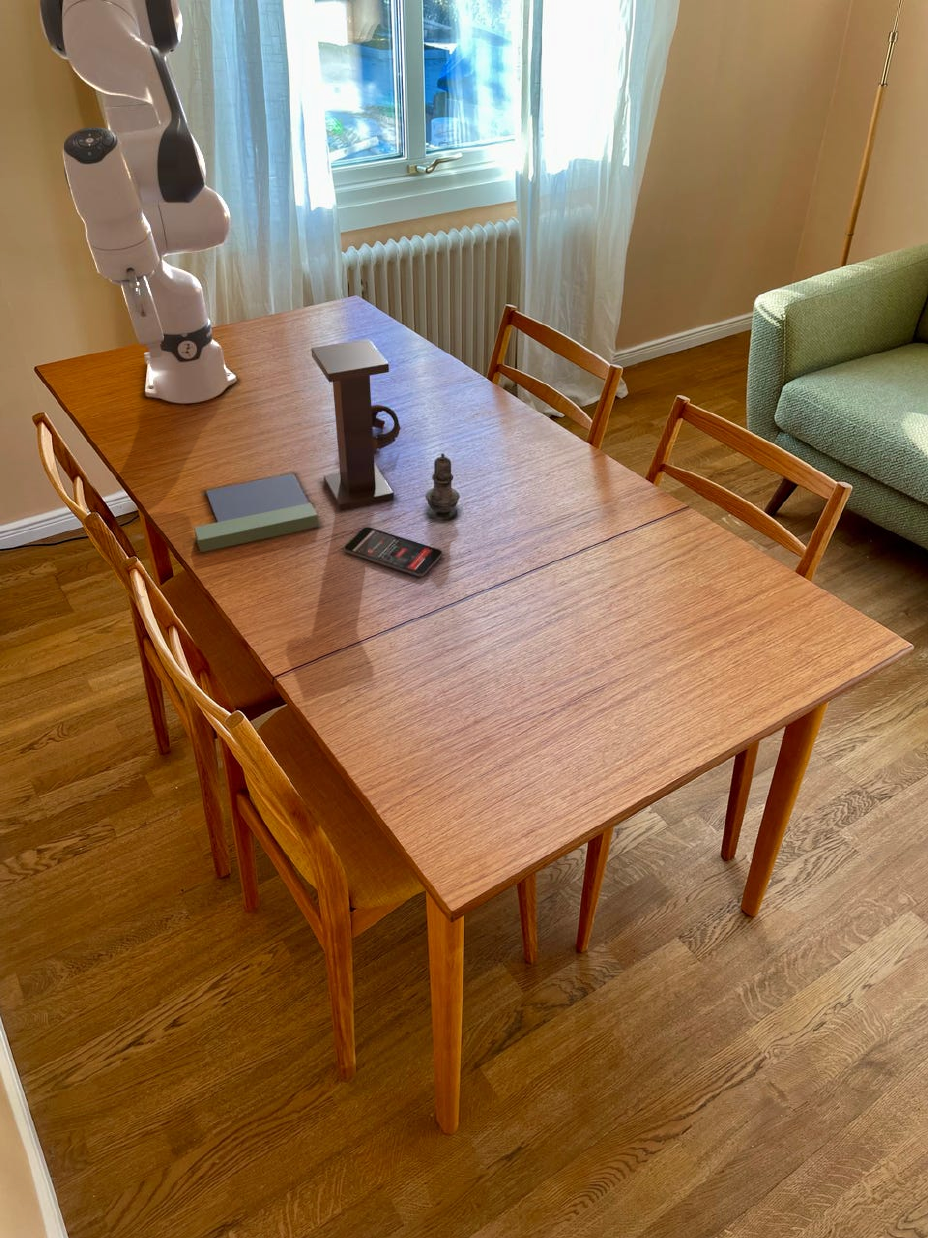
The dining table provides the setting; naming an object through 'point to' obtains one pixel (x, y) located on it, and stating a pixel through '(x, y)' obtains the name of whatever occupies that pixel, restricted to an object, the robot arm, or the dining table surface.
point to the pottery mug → (386, 438)
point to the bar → (256, 527)
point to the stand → (354, 422)
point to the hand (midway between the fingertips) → (151, 338)
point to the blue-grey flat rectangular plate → (256, 497)
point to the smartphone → (393, 551)
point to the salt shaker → (442, 492)
